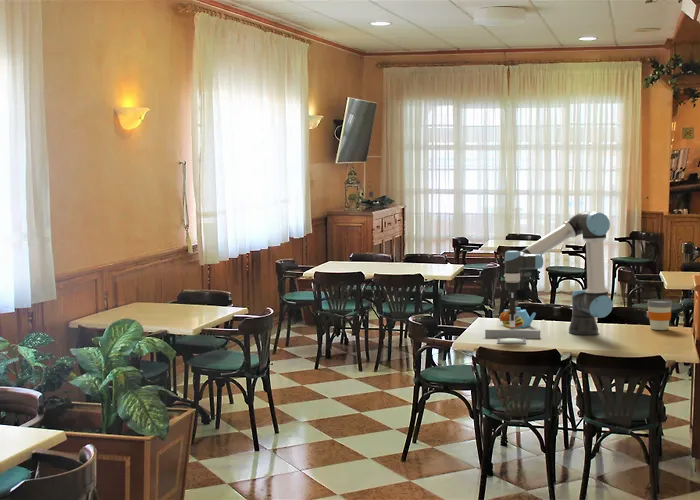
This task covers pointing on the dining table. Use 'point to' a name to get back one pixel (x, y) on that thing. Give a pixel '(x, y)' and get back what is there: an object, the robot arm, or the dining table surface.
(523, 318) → the teapot
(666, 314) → the reusable coffee cup
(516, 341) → the mat
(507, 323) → the cheeseburger
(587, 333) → the robot arm
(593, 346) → the dining table surface
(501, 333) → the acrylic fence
